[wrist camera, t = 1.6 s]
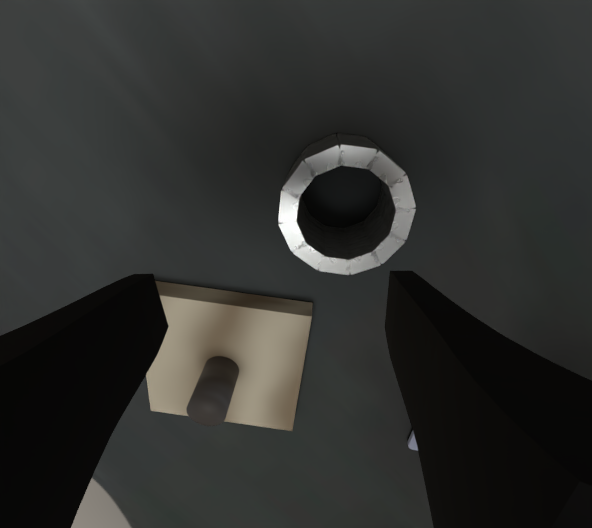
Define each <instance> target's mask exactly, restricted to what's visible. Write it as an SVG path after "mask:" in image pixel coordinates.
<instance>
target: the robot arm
mask: <svg viewBox="0 0 592 528" xmlns="http://www.w3.org/2000/svg"><path fill="white" fill-rule="evenodd" d="M168 327H169V326H168V322H167V319H166V316H165V312H164V309H163V306H162V302H161V299H160V295H159V292H158V289H157V285H156V282H155V279H154V275H153V274H134V275H131V276H128V277H125V278H123V279H121V280H118V281H116V282H114V283H112V284H110V285H108V286H106V287H103V288H101V289H99V290H97V291H95V292H93V293H91V294H89V295H87V296H85V297H83V298H81V299H79V300H77V301H75V302H73V303H71V304H69V305H67V306H65V307H63V308H61V309H59V310H57V311H54V312H52V313H50V314H48V315H46V316H44V317H42V318H40V319H37V320H35V321H33V322H31V323H29V324H27V325H25V326H22V327H20V328H18V329H15V330H13V331H11V332H8V333H6V334H4V335H1V336H0V528H71V526H72V523H73V520H74V518H75V516H76V513H77V510H78V508H79V505H80V503H81V501H82V499H83V496H84V494H85V492H86V489H87V487H88V484H89V482H90V480H91V478H92V475H93V473H94V471H95V469H96V466H97V464H98V462H99V460H100V458H101V456H102V453H103V451H104V449H105V447H106V445H107V443H108V441H109V438H110V436H111V434H112V432H113V431H114V429H115V427H116V425H117V423H118V421H119V419H120V418H121V416H122V414H123V413H124V411H125V409H126V408H127V406H128V404H129V403H130V401H131V399H132V397H133V396H134V394H135V392H136V391H137V389H138V387H139V386H140V384H141V382H142V381H143V379H144V377H145V375H146V374H147V372H148V370H149V368H150V367H151V365H152V363H153V362H154V360H155V358H156V356H157V354H158V352H159V350H160V347H161V345H162V343H163V340H164V338H165V335H166V332H167V330H168ZM385 331H386V337H387V343H388V348H389V354H390V358H391V361H392V365H393V368H394V371H395V374H396V378H397V381H398V384H399V387H400V390H401V393H402V397H403V400H404V403H405V406H406V409H407V412H408V416H409V419H410V422H411V425H412V428H413V430H412V433H411V435H410V437H409V439H408V442H407V443H408V447H409V448H410V449H412V450H418V452H419V457H420V461H421V466H422V471H423V476H424V480H425V485H426V490H427V495H428V500H429V506H430V511H431V516H432V521H433V526H434V528H592V381H591V380H589V379H586V378H584V377H582V376H580V375H578V374H576V373H574V372H572V371H570V370H567V369H565V368H563V367H561V366H559V365H557V364H555V363H553V362H551V361H549V360H547V359H545V358H543V357H541V356H539V355H537V354H535V353H534V352H532V351H530V350H528V349H526V348H525V347H523V346H521V345H519V344H517V343H516V342H514V341H512V340H510V339H508V338H507V337H505V336H503V335H502V334H500V333H498V332H497V331H495V330H494V329H492V328H490V327H489V326H487V325H486V324H484V323H483V322H481V321H480V320H478V319H477V318H475V317H474V316H472V315H471V314H469V313H468V312H466V311H465V310H464V309H462V308H461V307H459V306H458V305H457V304H455V303H454V302H452V301H451V300H450V299H448V298H447V297H446V296H444V295H443V294H442V293H440V292H439V291H438V290H437V289H435V288H434V287H433V286H431V285H430V284H429V283H428V282H426V281H425V280H424V279H422V278H421V277H420V276H418V275H417V274H416V273H414V272H413V271H390V277H389V288H388V299H387V309H386V320H385Z"/></svg>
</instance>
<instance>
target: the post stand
mask: <svg viewBox="0 0 592 528" xmlns="http://www.w3.org/2000/svg"><path fill="white" fill-rule="evenodd" d="M155 282H156V285H157V289H158V292H159V295H160V299H161V302H162V306H163V309H164V312H165V316H166V319H167V322H168V326H169V327H168V330H167V332H166V335H165V338H164V340H163V343H162V345H161V347H160V350H159V352H158V354H157V356H156V358H155V360H154V362H153V363H152V365H151V367H150V368H149V370H148V372H147V374H146V378H147V385H148V392H149V400H150V407H151V411H157V412H164V413H171V414H178V415H185V416H189V417H190V418H191V419H192V420H193V421H195V422H196V423H199V424H201V425H205V426H216V425H219V424H221V423H222V422H224V421H226V422H233V423H240V424H247V425H254V426H261V427H268V428H275V429H282V430H289V431H292V428H293V423H294V417H295V411H296V405H297V400H298V394H299V388H300V382H301V377H302V371H303V365H304V359H305V354H306V348H307V342H308V336H309V330H310V325H311V319H312V305H313V303H311V302H304V301H296V300H289V299H282V298H275V297H268V296H261V295H254V294H246V293H239V292H232V291H225V290H218V289H211V288H203V287H196V286H189V285H182V284H175V283H168V282H161V281H155Z"/></svg>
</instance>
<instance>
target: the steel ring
mask: <svg viewBox="0 0 592 528" xmlns="http://www.w3.org/2000/svg"><path fill="white" fill-rule="evenodd" d="M339 166H348V167H356V168H363V169H369V170H370V171H371V172H373V173H374V174H375V175H376V176H377V177H379V179H380V182H381V185H382V187H381V191H380V196H379V200H378V204H377V207H376V208H375V209H374V210H373V211H372V212H371V213H370V214H369V215H368V217H367V218H366V219H365V220H364V221H363V222H360V223H357V224H355V225H352V226H349V227H346V228H338V227H331V226H324V225H323V224H322V223H320V222H319V221H318V220H316V219H315V218H314V217H312V216H311V215H310V214H309V212H308V210H307V208H306V205H305V203H304V201H303V198H302V193H303V192H304V190H305V189H306V188H307V186H308V185H309V184H310V183H311V181H312V180H313V179H314V177H315V176H317V175H319V174H322V173H324V172H327V171H329V170H331V169H334V168H336V167H339ZM415 207H416V205H415V201H414V198H413V194H412V191H411V187H410V183H409V180H408V176H407V174H406V173H405V172H404V171H403V170H402V169H401V168H400V167H399V166H398V165H397V164H396V163H395V162H394V161H393V160H392V158H391V157H390V156H389V155H387V154H386V153H385V152H384V151H383V150H382V149H380V148H379V147H378V146H377V145H376V144H374V143H373V142H372V141H371V140H370V139H369V138H366V137H364V136H357V135H349V134H342V133H337V137H336V135H335V133H334V134H332V135H330V136H328V137H325V138H323V139H321V140H318V141H316V142H314V143H312V144H309V145H308V147H306V148H305V149H304V151H303V152H302V154H301V155H300V156H299V158H298V159H297V160H296V162H295V163H294V165H293V166H292V167H291V169H290V171H289V173H288V176H287V178H286V180H285V183H284V185H283V188H282V190H281V198H280V208H279V218H278V222H279V227H280V229H281V231H282V233H283V235H284V237H285V239H286V241H287V243H288V246H289V248H290V250H291V251H293V254H295V255H296V256H297V257H299V258H300V259H302V260H303V261H305V262H306V263H307V264H309V265H310V266H312V267H313V268H314V269H316V270H318V268H319V271H322V272H330V273H337V274H344V275H349V272H350V273H351V275H353V274H356V273H359V272H362V271H365V270H368V269H371V268H374V267H377V266H380V263H382V264H383V263H384V262H385V261H386V260H388V259H389V258H390V257H391V256H392V255H393V254H394V253H395V252H396V251H397V250H398V249H399V248H400V247H401V246H402V245H403V244H404V243H405V240H407V237H408V234H409V231H410V227H411V224H412V221H413V217H414V214H415V211H416V209H415Z"/></svg>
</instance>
